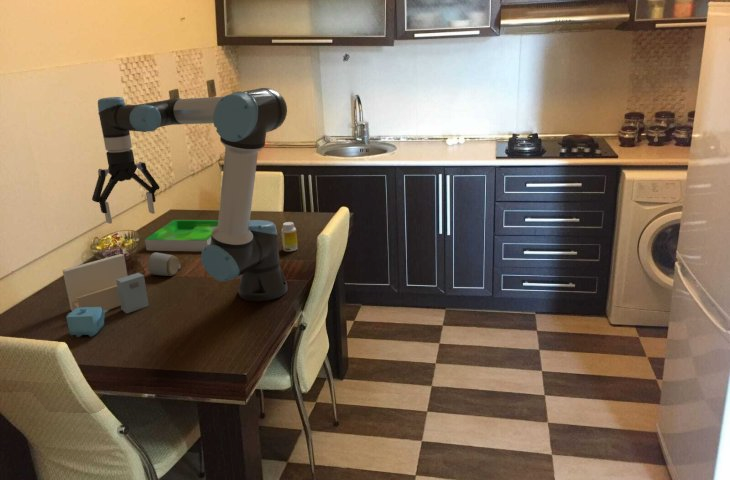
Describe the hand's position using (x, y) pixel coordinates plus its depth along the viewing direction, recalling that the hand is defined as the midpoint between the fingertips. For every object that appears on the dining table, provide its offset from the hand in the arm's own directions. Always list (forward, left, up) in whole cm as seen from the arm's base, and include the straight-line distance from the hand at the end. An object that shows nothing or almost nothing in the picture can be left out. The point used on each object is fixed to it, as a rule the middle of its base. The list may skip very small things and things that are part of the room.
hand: (131, 217), depth 194 cm
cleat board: (-2, +13, -24) cm, 28 cm away
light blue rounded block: (-18, +24, -25) cm, 39 cm away
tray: (+33, -36, -25) cm, 55 cm away
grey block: (-12, +8, -24) cm, 28 cm away
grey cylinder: (+7, -12, -25) cm, 28 cm away
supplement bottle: (-7, -55, -25) cm, 60 cm away
